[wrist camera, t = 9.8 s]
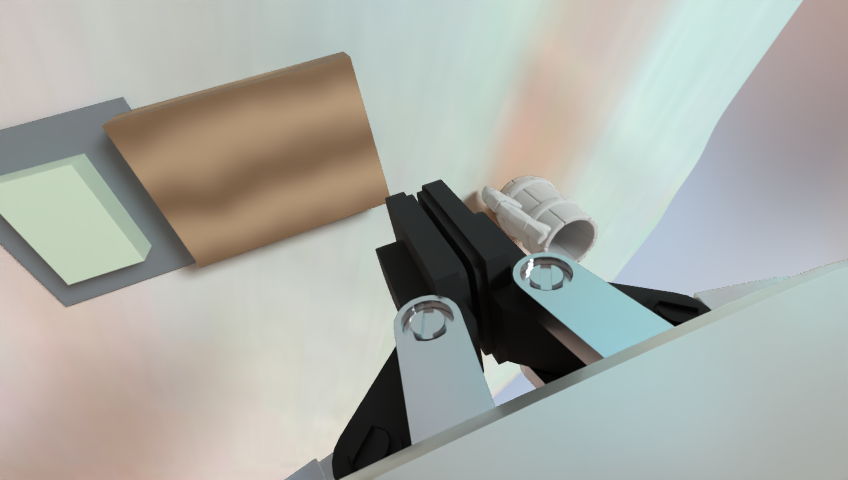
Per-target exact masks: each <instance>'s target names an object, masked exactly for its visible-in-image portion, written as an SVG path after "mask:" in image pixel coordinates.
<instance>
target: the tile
mask: <svg viewBox="0 0 848 480" xmlns="http://www.w3.org/2000/svg"><path fill="white" fill-rule="evenodd" d="M0 214H1V215H2V216H3V217H4V218H5V219H6V220H7V221H8V222H9V223H10V224H11V225H12V226H13V228H14V229H15V230H16V231H17V232H18V233H19V234H20V235H21V236H22V237H23V238H24V239H25V240H26V241H27V242H28V243H29V244H30V245H31V246H32V247H33V248H34V250H35V251H36V252H37V253H38V254H39V255H40V256H41V257H42V258H43V259H44V260H45V261H46V262H47V263H48V264H49V265H50V266H51V267H52V268H53V269H54V270H55V272H56V273H57V274H58V275H59V276H60V277H61V278H62V279H63V280H64V281H65V282H66V283H67V284H68V285H70V284H73V283H76V282H79V281H83V280H86V279H89V278H92V277H95V276H98V275H101V274H104V273H108V272H111V271H114V270H117V269H120V268H123V267H126V266H130V265H133V264H136V263H139V262H142V261H145V259H146V257H147V255H148V252H149V250H150V248H151V246H152V245H151V244H150V243H149V241H148V240H147V239H146V237H145V236H144V234H143V233H142V232H141V230H140V229H139V228H138V226H137V225H136V224H135V222H134V221H133V219H132V218H131V217H130V215H129V214H128V213H127V211H126V210H125V208H124V207H123V206H122V204H121V203H120V202H119V200H118V199H117V197H116V196H115V195H114V193H113V192H112V191H111V189H110V188H109V187H108V185H107V184H106V182H105V181H104V180H103V178H102V177H101V176H100V174H99V173H98V171H97V170H96V169H95V167H94V166H93V165H92V163H91V162H90V161H89V159H88V158H87V156H86V155H85V154H80V155H76V156H72V157H69V158H65V159H61V160H58V161H54V162H50V163H46V164H43V165H39V166H35V167H31V168H28V169H24V170H20V171H17V172H13V173H9V174H5V175H2V176H0Z"/></svg>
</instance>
